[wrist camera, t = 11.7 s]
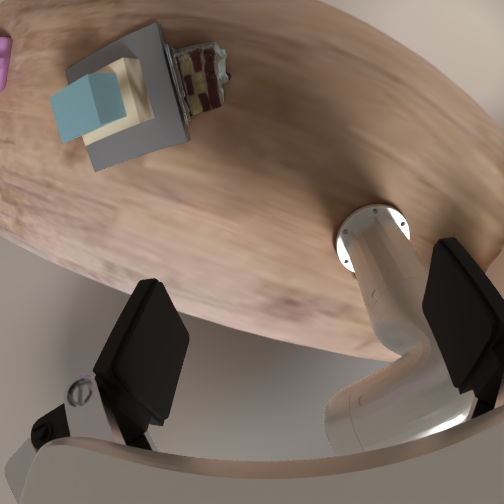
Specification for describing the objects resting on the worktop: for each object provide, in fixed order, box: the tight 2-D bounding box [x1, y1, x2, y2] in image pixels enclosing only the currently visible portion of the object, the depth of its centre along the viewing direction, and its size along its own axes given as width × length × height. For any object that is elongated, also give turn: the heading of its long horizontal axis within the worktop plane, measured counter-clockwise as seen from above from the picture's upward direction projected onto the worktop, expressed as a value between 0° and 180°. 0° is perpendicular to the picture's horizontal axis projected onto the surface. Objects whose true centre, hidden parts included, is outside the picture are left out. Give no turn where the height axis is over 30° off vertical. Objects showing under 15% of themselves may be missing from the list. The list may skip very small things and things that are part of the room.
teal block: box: [50, 73, 127, 143], centre depth 24 cm, size 6×6×6 cm
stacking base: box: [65, 22, 190, 172], centre depth 29 cm, size 18×16×6 cm
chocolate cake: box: [165, 41, 231, 126], centre depth 29 cm, size 10×7×12 cm
